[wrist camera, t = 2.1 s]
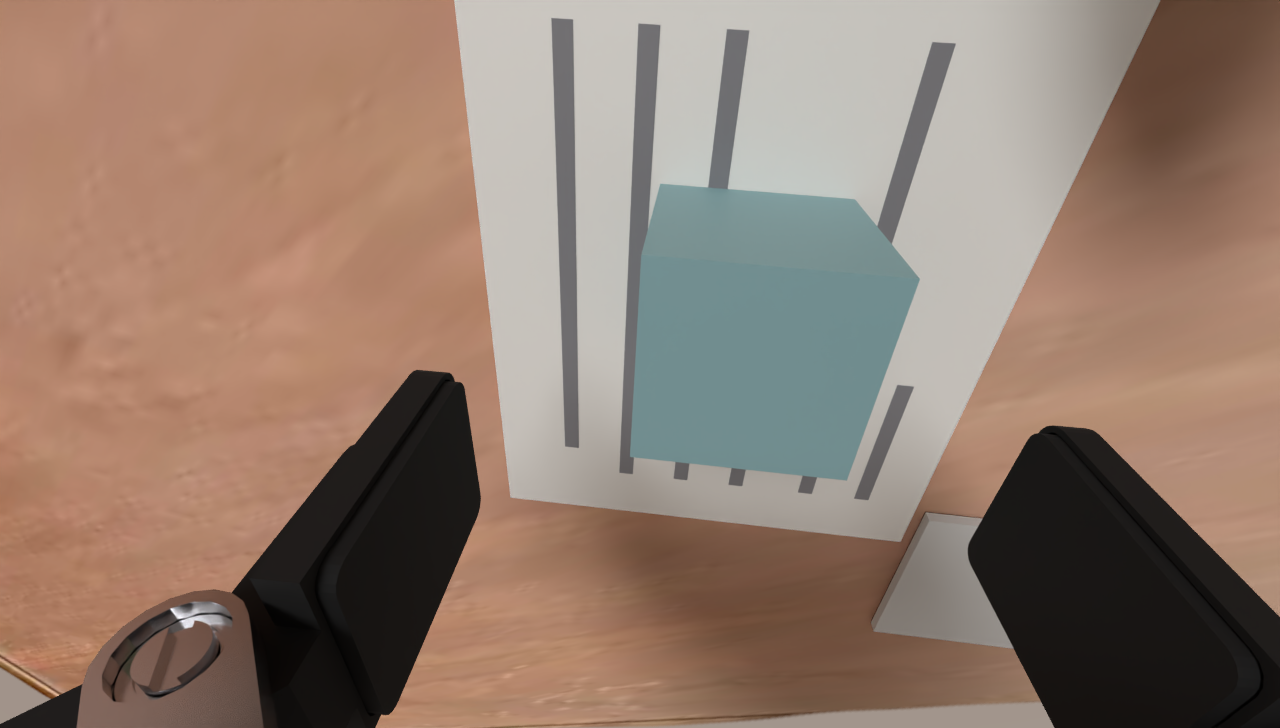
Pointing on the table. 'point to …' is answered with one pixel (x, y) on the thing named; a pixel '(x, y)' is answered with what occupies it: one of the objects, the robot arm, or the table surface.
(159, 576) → the table surface
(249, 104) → the table surface
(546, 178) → the letter
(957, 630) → the mat
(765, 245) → the teal block
